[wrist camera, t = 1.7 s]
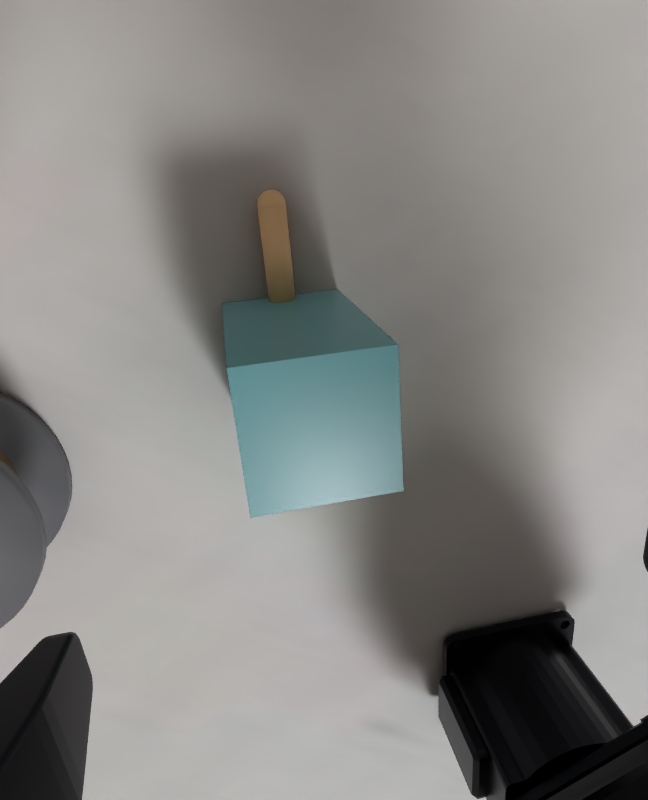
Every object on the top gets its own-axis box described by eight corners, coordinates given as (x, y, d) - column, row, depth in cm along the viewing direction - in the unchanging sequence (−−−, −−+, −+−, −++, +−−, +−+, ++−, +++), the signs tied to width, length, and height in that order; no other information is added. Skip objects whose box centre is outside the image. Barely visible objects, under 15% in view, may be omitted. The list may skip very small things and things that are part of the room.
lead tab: (329, 183, 18) (393, 187, 12) (345, 395, 21) (403, 490, 15) (205, 195, 18) (200, 206, 11) (238, 411, 20) (250, 517, 14)
